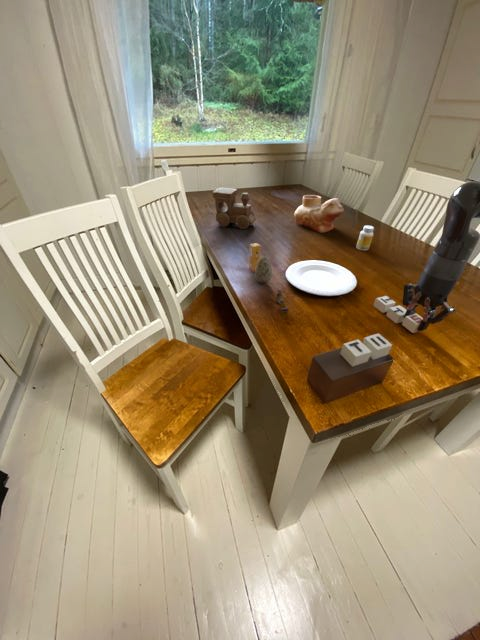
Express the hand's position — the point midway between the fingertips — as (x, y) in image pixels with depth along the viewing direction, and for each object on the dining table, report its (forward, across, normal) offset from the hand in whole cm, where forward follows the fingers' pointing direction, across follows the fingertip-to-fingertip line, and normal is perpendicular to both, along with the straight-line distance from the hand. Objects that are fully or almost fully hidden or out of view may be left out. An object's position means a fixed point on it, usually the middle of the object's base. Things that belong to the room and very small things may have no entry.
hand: (413, 325), depth 77 cm
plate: (+2, +32, +9) cm, 34 cm away
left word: (-6, -9, +27) cm, 29 cm away
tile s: (+1, 0, 0) cm, 1 cm away
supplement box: (+2, +48, +28) cm, 56 cm away
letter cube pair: (+2, +8, 0) cm, 8 cm away
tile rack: (+2, -8, +30) cm, 31 cm away
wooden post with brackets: (+2, +24, +30) cm, 38 cm away
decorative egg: (+2, +38, +29) cm, 48 cm away
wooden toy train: (+2, +96, +18) cm, 98 cm away
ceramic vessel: (+2, +80, -21) cm, 83 cm away
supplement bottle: (+2, +50, -25) cm, 55 cm away
